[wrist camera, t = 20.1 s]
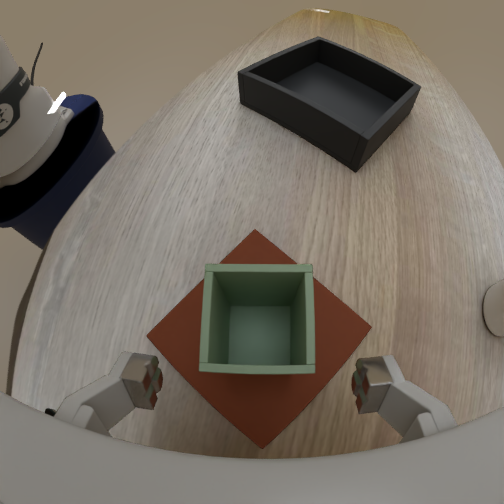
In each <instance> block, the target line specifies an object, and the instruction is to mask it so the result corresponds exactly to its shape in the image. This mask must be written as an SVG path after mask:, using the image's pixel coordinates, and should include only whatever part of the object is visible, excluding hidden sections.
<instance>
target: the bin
mask: <svg viewBox="0 0 504 504" xmlns="http://www.w3.org/2000/svg"><path fill="white" fill-rule="evenodd" d="M238 83H239V94H240V103H241V104H243V105H245V106H247V107H249V108H251V109H253V110H254V111H256V112H258V113H260V114H262V115H264V116H266V117H268V118H269V119H271V120H273V121H275V122H277V123H278V124H280V125H282V126H284V127H285V128H287V129H289V130H291V131H292V132H294V133H296V134H297V135H299V136H301V137H302V138H304V139H306V140H307V141H309V142H310V143H312V144H314V145H315V146H317V147H318V148H320V149H322V150H323V151H325V152H326V153H328V154H329V155H331V156H332V157H334V158H335V159H337V160H338V161H340V162H341V163H343V164H344V165H346V166H347V167H349V168H350V169H352V170H353V171H354V172H357V171H358V170H359V169H360V168H361V166H362V165H363V164H364V163H365V162H366V161H367V160H368V159H369V158H370V157H371V156H372V154H373V153H374V152H375V151H376V150H377V149H378V148H379V147H380V146H381V145H382V143H383V142H384V141H385V140H386V139H387V138H388V137H389V136H390V135H391V133H392V132H393V131H394V130H395V129H396V128H397V127H398V126H399V124H400V123H401V122H402V121H403V120H404V119H405V118H406V117H407V115H408V114H409V113H410V112H411V110H412V107H413V105H414V103H415V101H416V98H417V96H418V93H419V91H420V89H421V86H419V85H418V84H416V83H415V82H413V81H411V80H410V79H408V78H406V77H405V76H403V75H401V74H399V73H397V72H396V71H394V70H392V69H390V68H388V67H386V66H384V65H383V64H381V63H379V62H377V61H375V60H373V59H371V58H368V57H366V56H364V55H362V54H360V53H358V52H356V51H353V50H351V49H349V48H346V47H344V46H342V45H339V44H337V43H334V42H332V41H329V40H327V39H324V38H321V37H316V38H313V39H310V40H308V41H305V42H302V43H300V44H297V45H295V46H292V47H290V48H288V49H285V50H283V51H280V52H278V53H276V54H274V55H271V56H269V57H267V58H265V59H263V60H261V61H259V62H256V63H254V64H252V65H250V66H248V67H246V68H244V69H242V70H240V71H238Z"/></svg>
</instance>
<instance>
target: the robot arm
mask: <svg viewBox="0 0 504 504" xmlns="http://www.w3.org/2000/svg"><path fill="white" fill-rule="evenodd" d="M42 45H43V43H41V46H40V49H39V51H38V54H37V56H36V59H35V62H34V66H33V68H32V73H31V82H30V80H29V78H28V76H27V74H26V72H25V71H24V70H23V69H22V67H18V65H17V64H16V62H15V60H14V58H13V56H12V54H11V53H10V51H9V49H8V47H7V45H6V43H5V41H4V39H3V37H2V36H1V35H0V189H1V188H3V187H5V186H8V185H16V184H18V183H20V182H22V181H24V180H25V179H27V178H28V177H29V176H31V175H32V174H33V173H34V172H35V171H37V170H38V169H39V168H40V167H41V166H42V165H43V164H44V163H45V161H46V160H47V159H48V158H49V157H50V156H51V154H52V153H53V152H54V150H55V149H56V147H57V146H58V144H59V143H60V141H61V139H62V137H63V135H64V132H65V129H66V126H67V125H68V123H69V122H70V121H71V119H72V118H73V116H74V112H73V111H72V110H71V109H69V108H66V107H62V106H59V105H60V103H61V102H62V101H63V99H64V98H65V97H66V95H65V93H64V92H63V93H62V94H61V95H60V96H59V98H58V99H57V100H56V102H54V101H53V99H52V98H51V96H50V95H49V93H48V92H47V90H46V89H45V87H40V86H38V87H37V86H33V78H34V70H35V65H36V62H37V59H38V57H39V54H40V51H41V49H42ZM30 83H31V85H30ZM158 364H159V361H158V358H157V357H156V356H153V355H147V354H140V353H132V352H127V351H123V352H122V353H121V354H120V356H119V358H118V359H117V361H116V363H115V364H114V366H113V368H112V370H111V371H110V373H109V375H108V376H103V377H101V378H100V379H98V380H96V381H94V382H93V383H91V384H89V385H87V386H85V387H84V388H82V389H80V390H78V391H77V392H75V393H73V394H71V395H69V396H68V397H66V398H65V399H64V401H63V402H62V404H61V406H60V407H59V409H58V410H57V412H56V414H55V416H54V417H52V416H50V415H48V414H45V413H43V412H41V411H39V410H37V409H34V408H32V407H30V406H28V405H26V404H24V403H22V402H20V401H18V400H16V399H14V398H12V397H10V396H9V395H7V394H5V393H3V392H1V391H0V504H504V406H503V407H501V408H499V409H497V410H495V411H493V412H491V413H488V414H486V415H484V416H482V417H479V418H477V419H475V420H472V421H470V422H467V423H465V424H462V425H459V426H458V425H457V423H456V421H455V419H454V417H453V415H452V413H451V411H450V409H449V407H448V405H446V404H444V403H443V402H441V401H440V400H438V399H437V398H435V397H433V396H432V395H430V394H429V393H427V392H426V391H424V390H423V389H421V388H419V387H418V386H416V385H415V384H413V383H412V382H410V381H406V380H405V378H404V376H403V374H402V372H401V370H400V368H399V366H398V364H397V362H396V360H395V358H394V356H393V355H386V356H381V357H380V356H378V357H370V358H360V359H358V360H357V363H356V368H357V370H356V371H355V372H354V373H353V376H352V384H351V385H352V391H353V394H354V395H355V396H356V397H357V399H356V406H357V409H358V413H359V414H364V413H373V412H378V414H379V415H380V416H381V417H383V418H384V419H385V420H386V421H387V422H388V423H389V424H390V425H391V426H392V427H393V428H394V429H395V430H396V431H397V432H398V433H399V434H400V435H401V436H403V438H402V440H401V441H400V442H399V444H396V445H391V446H387V447H382V448H377V449H372V450H366V451H360V452H354V453H347V454H339V455H331V456H320V457H308V458H288V459H249V458H229V457H216V456H206V455H197V454H190V453H183V452H176V451H170V450H165V449H159V448H154V447H149V446H145V445H140V444H136V443H132V442H128V441H124V440H120V439H116V438H113V437H112V436H111V435H110V434H109V432H108V430H109V429H111V428H112V427H113V426H114V425H116V424H117V423H118V422H119V421H120V420H122V419H123V418H124V417H125V416H126V415H128V414H129V413H130V412H131V411H132V410H133V409H135V407H137V408H143V409H150V410H154V407H155V404H156V401H157V399H158V398H157V396H156V393H158V392H159V391H160V390H161V388H162V383H163V375H162V371H161V369H160V368H158V367H157V366H158Z"/></svg>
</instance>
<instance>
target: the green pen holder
mask: <svg viewBox="0 0 504 504" xmlns="http://www.w3.org/2000/svg"><path fill="white" fill-rule="evenodd" d="M312 272H313V267H312V264H206V265H205V276H204V289H203V303H202V318H201V335H200V355H199V362H200V363H199V371H200V372H214V373H233V374H313V373H315V365H314V364H315V314H314V287H313V273H312Z"/></svg>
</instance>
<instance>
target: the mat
mask: <svg viewBox="0 0 504 504" xmlns="http://www.w3.org/2000/svg"><path fill="white" fill-rule="evenodd" d="M219 264H297V263H296V262H294V261H293V260H292V259H291V258H290V257H288V256H287V255H286V254H285V253H284V252H282V251H281V250H280V249H279V248H278V247H276V246H275V245H274V244H273V243H271V242H270V241H269V240H268V239H267V238H265V237H264V236H263V235H262V234H260V233H259V232H258V231H257V230H256V229H254V230H253V231H252V232H251V233H250V234H249V235H248V236H247V237H246V238H245V239H244V240H243V241H242V242H241V243H240V244H239V245H238V246H237V247H236V248H235V249H234V250H233V251H232V252H231V253H229V254H228V255H227V256H226V257H225V258H224V259H223V260H222V261H221V262H220V263H219ZM313 287H314V314H315V364H314V365H315V373H313V374H233V373H214V372H200V371H199V363H200V362H199V355H200V335H201V318H202V303H203V289H204V279H203V280H202V281H201V282H200V283H199V284H198V285H197V286H196V287H195V288H194V289H193V290H192V291H191V292H190V293H189V294H188V295H187V296H186V297H185V298H183V299H182V300H181V301H180V302H179V303H178V304H177V305H176V306H175V307H174V308H173V309H172V310H171V311H170V312H169V313H168V314H167V315H166V316H165V317H164V318H163V319H162V320H161V321H160V322H159V323H158V324H157V325H156V326H155V327H154V328H153V329H152V330H151V331H150V332H149V333H148V334H147V335H146V336H147V337H148V339H149V340H150V341H151V342H152V343H153V344H154V346H155V347H156V348H157V349H158V350H159V351H160V352H161V353H162V355H163V356H164V357H165V358H166V359H167V360H168V361H169V362H170V363H171V365H172V366H173V367H174V368H175V369H176V370H177V371H178V372H179V373H180V374H181V375H182V376H183V377H184V378H185V379H186V380H187V381H188V382H189V383H190V384H191V385H192V386H193V387H194V388H195V389H196V390H197V391H198V392H199V393H200V394H201V395H202V396H203V397H204V398H205V399H206V400H207V401H208V402H209V403H210V404H211V405H212V406H213V407H214V408H215V409H216V410H217V411H219V412H220V413H221V414H222V415H223V416H224V417H225V418H226V419H227V420H228V421H230V422H231V423H232V424H233V425H234V426H235V427H236V428H238V429H239V430H240V431H241V432H242V433H243V434H245V435H246V436H247V437H248V438H249V439H251V440H252V441H253V442H254V443H255V444H257V445H258V446H259V447H260V448H262V449H263V448H264V447H265V446H266V445H268V444H269V443H270V442H271V441H272V440H273V439H274V438H275V437H276V436H277V435H278V434H279V433H280V432H281V431H282V430H283V429H284V428H286V427H287V426H288V425H289V424H290V423H291V422H292V421H293V420H294V419H295V418H296V417H297V415H298V414H299V413H300V412H301V411H302V410H303V409H304V408H305V407H306V406H307V405H308V404H309V403H310V402H311V401H312V400H313V399H314V398H315V396H316V395H317V394H318V393H319V392H320V391H321V390H322V389H323V388H324V386H325V385H326V384H327V383H328V382H329V381H330V379H331V378H332V377H333V376H334V375H335V374H336V372H337V371H338V370H339V369H340V368H341V366H342V365H343V364H344V363H345V362H346V360H347V359H348V358H349V357H350V355H351V354H352V353H353V352H354V350H355V349H356V348H357V346H358V345H359V344H360V343H361V341H362V340H363V339H364V337H365V336H366V335H367V333H368V332H369V331H370V329H371V328H372V327H371V326H370V325H369V324H368V323H367V322H366V321H364V320H363V319H362V318H361V317H360V316H359V315H357V314H356V313H355V312H354V311H353V310H352V309H350V308H349V307H348V306H347V305H346V304H344V303H343V302H342V301H341V300H340V299H339V298H337V297H336V296H335V295H334V294H333V293H332V292H330V291H329V290H328V289H327V288H326V287H324V286H323V285H322V284H321V283H320V282H318V281H317V280H316V279H315V278H314V277H313Z"/></svg>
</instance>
